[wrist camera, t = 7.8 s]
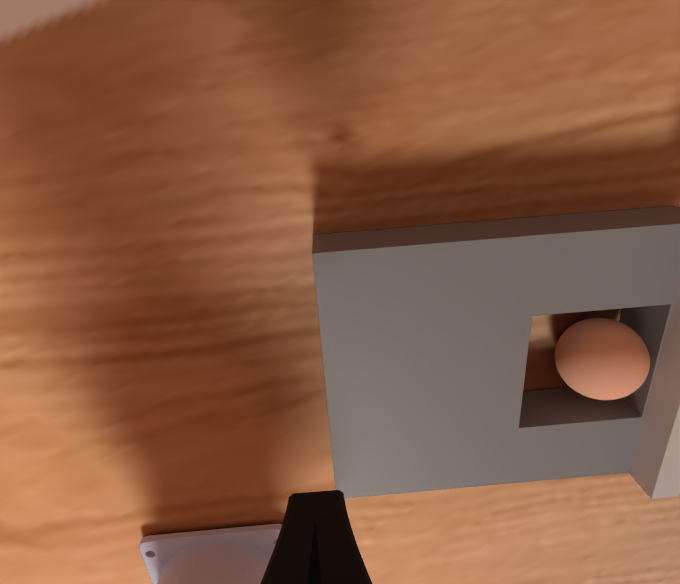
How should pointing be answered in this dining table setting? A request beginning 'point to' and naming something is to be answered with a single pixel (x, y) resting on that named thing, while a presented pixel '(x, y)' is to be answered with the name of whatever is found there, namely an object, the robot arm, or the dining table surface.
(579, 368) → the ball
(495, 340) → the hole deck
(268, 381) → the dining table surface
